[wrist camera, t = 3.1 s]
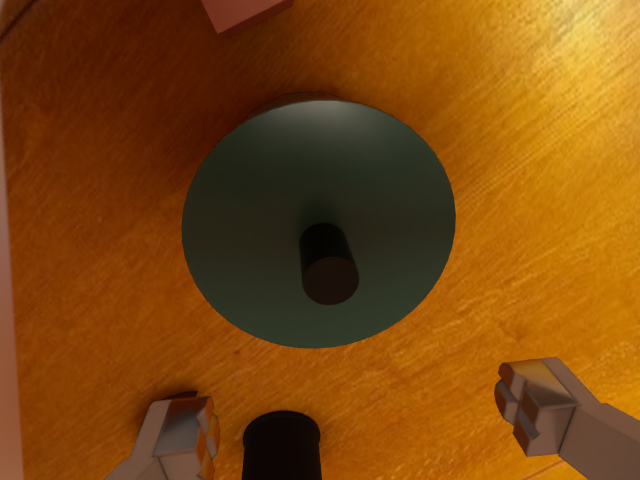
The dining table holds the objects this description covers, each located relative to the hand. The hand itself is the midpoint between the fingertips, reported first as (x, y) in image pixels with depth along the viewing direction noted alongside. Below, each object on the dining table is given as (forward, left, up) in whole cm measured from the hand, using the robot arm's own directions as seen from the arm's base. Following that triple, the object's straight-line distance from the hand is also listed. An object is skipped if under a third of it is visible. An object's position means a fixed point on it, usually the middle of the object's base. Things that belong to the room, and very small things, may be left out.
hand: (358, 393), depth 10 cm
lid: (0, 0, -10) cm, 10 cm away
